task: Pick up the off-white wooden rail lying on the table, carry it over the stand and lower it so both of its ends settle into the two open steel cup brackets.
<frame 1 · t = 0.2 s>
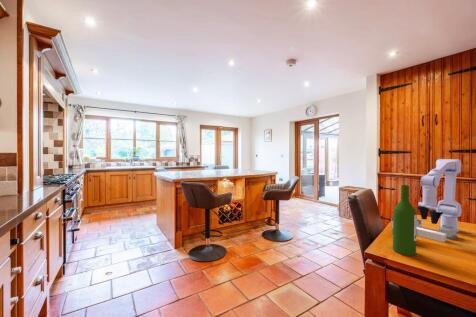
hand: (429, 221, 117), 10 cm above the table, tool pointing down, fingers open, 7 cm apart
food container: (402, 238, 117), on the table
rail: (423, 236, 121), on the table
wine bottle: (404, 252, 102), on the table
stand: (429, 232, 126), on the table
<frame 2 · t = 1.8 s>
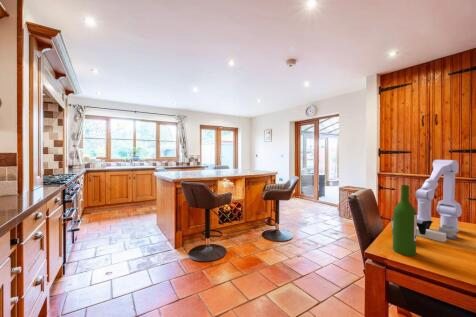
hand: (423, 233, 121), 1 cm above the table, tool pointing down, fingers closed on rail, 4 cm apart
rail: (423, 236, 121), on the table, touching gripper
everything else where it was.
when the fingers open (5 cm above the table, at t = 5.2 s): rail stays where it is, resting on stand.
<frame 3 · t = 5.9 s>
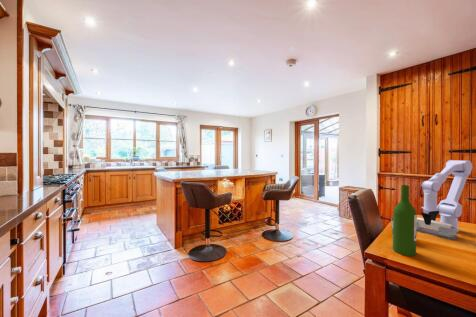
hand: (429, 223, 126), 5 cm above the table, tool pointing down, fingers open, 7 cm apart
rail: (429, 227, 126), point 3 cm above the table, touching stand
everything else where it was.
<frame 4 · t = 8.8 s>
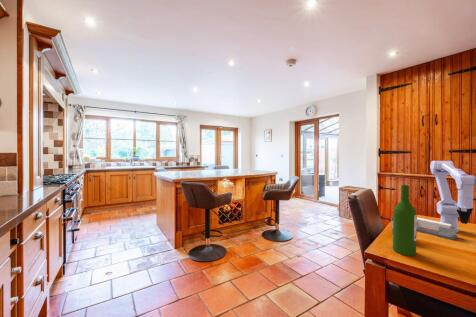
hand: (464, 221, 115), 10 cm above the table, tool pointing down, fingers open, 7 cm apart
nothing on the table moved.
at the end: rail 0.1 cm off-centre on the stand, point 3.0 cm above the stand's base; rail tilted 0°; rail touching stand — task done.
